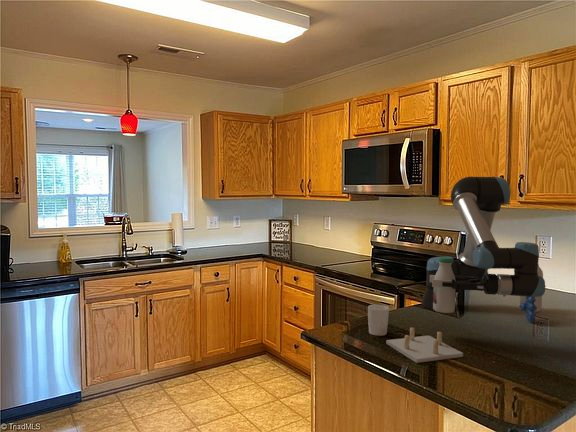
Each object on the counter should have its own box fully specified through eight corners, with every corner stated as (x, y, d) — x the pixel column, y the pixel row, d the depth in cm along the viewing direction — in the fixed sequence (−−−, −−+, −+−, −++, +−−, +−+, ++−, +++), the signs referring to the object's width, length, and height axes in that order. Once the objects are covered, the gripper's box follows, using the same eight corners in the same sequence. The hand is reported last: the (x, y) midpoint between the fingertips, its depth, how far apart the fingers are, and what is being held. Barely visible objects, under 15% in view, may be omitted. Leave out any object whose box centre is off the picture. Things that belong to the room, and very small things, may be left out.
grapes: (517, 316, 190) (518, 289, 189) (534, 318, 187) (536, 291, 186) (519, 323, 179) (520, 295, 178) (538, 325, 176) (539, 296, 176)
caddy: (386, 343, 153) (386, 328, 153) (428, 338, 159) (429, 324, 159) (416, 362, 136) (417, 345, 136) (462, 356, 142) (463, 340, 142)
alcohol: (544, 310, 200) (547, 246, 198) (536, 313, 194) (539, 247, 193) (524, 306, 207) (527, 244, 205) (516, 309, 201) (519, 245, 200)
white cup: (389, 331, 167) (390, 305, 166) (387, 337, 160) (387, 311, 159) (368, 328, 170) (369, 303, 169) (365, 334, 162) (366, 308, 162)
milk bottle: (457, 310, 162) (460, 257, 161) (449, 314, 156) (451, 260, 155) (438, 306, 167) (439, 255, 166) (429, 310, 161) (431, 257, 160)
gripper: (504, 301, 148) (434, 297, 152) (488, 288, 168) (427, 284, 172) (505, 279, 147) (435, 276, 152) (489, 269, 167) (428, 266, 172)
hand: (431, 280), depth 162 cm, fingers closed on milk bottle, 7 cm apart
